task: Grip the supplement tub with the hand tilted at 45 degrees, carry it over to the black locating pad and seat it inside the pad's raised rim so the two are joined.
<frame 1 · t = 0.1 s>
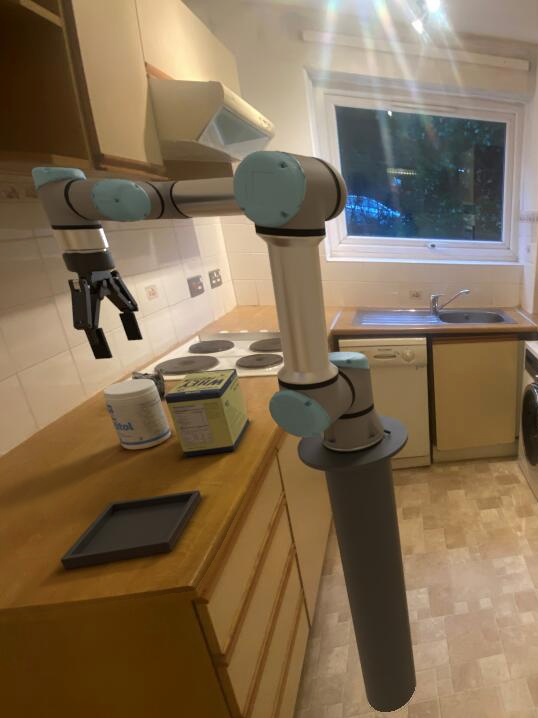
hand: (120, 348, 98), 23 cm above the countertop, tool pointing down, fingers open, 13 cm apart
supplement tub: (148, 441, 106), on the countertop
grey furry lump: (150, 394, 131), on the countertop
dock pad: (141, 530, 78), on the countertop
protein box: (219, 439, 107), on the countertop
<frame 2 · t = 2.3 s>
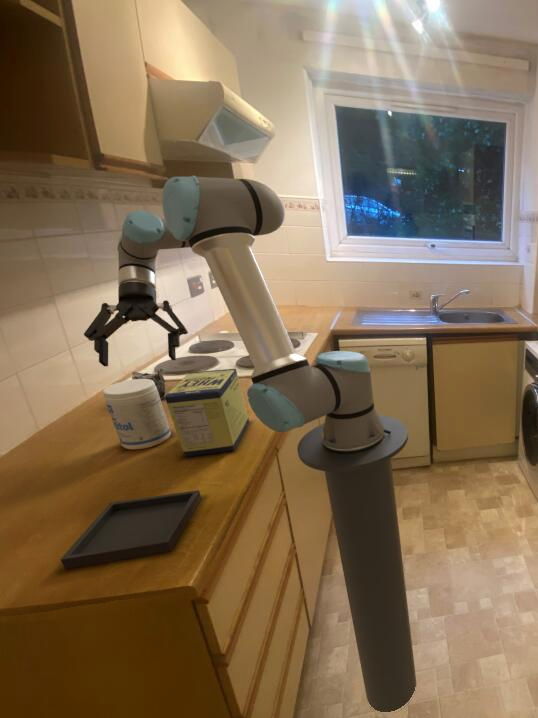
hand: (138, 361, 108), 17 cm above the countertop, tool tilted 45°, fingers open, 13 cm apart
nothing on the countertop moved.
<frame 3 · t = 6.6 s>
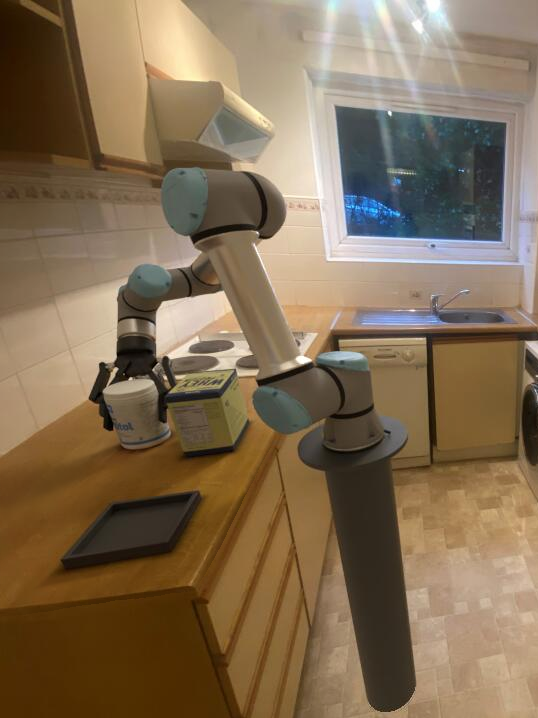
hand: (136, 425, 101), 6 cm above the countertop, tool tilted 45°, fingers closed on supplement tub, 10 cm apart
supplement tub: (148, 441, 106), on the countertop, touching gripper
everything else where it was.
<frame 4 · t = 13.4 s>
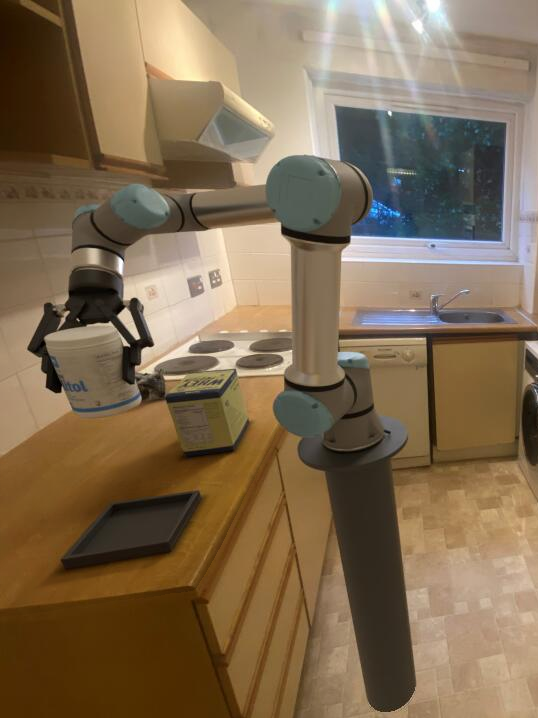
hand: (92, 385, 75), 25 cm above the countertop, tool tilted 45°, fingers closed on supplement tub, 10 cm apart
supplement tub: (111, 409, 80), point 19 cm above the countertop, touching gripper
everything else where it was.
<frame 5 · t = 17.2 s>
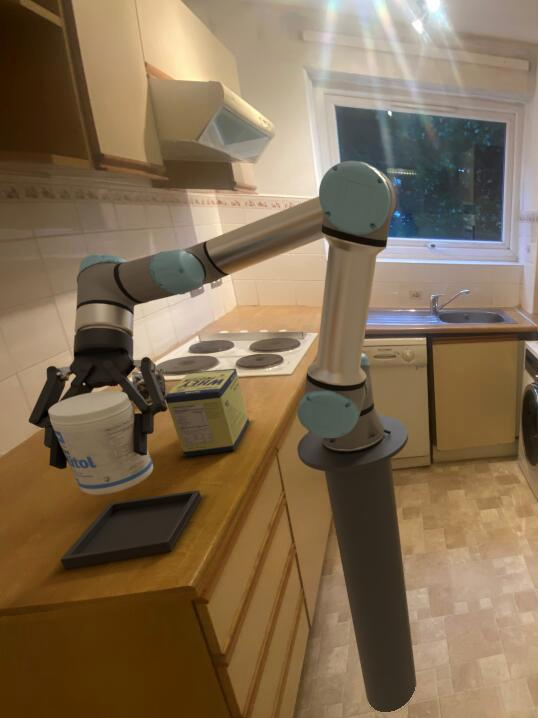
hand: (100, 459, 68), 17 cm above the countertop, tool tilted 45°, fingers closed on supplement tub, 10 cm apart
supplement tub: (120, 480, 73), point 11 cm above the countertop, touching gripper
everything else where it was.
when the fingers open (6 cm above the countertop, at t = 20.6 s): supplement tub stays where it is, resting on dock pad.
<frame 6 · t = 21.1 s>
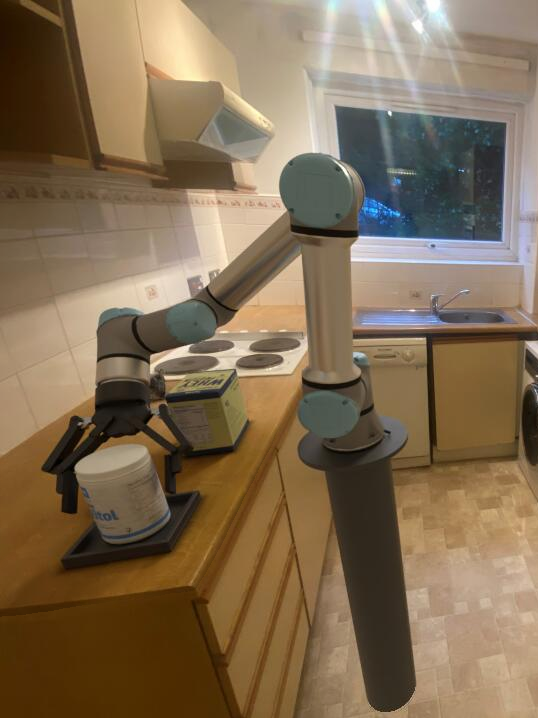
hand: (121, 502, 73), 8 cm above the countertop, tool tilted 45°, fingers open, 13 cm apart
supplement tub: (140, 528, 77), resting on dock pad
everything else where it was.
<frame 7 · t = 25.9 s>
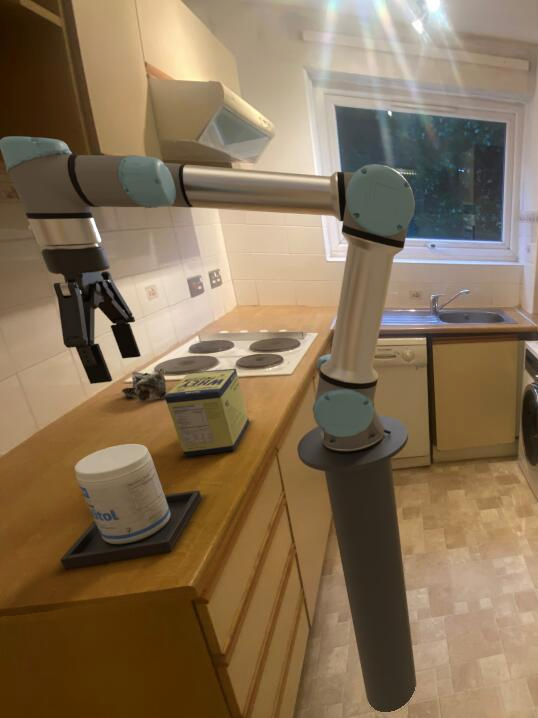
hand: (117, 368, 78), 26 cm above the countertop, tool pointing down, fingers open, 13 cm apart
nothing on the countertop moved.
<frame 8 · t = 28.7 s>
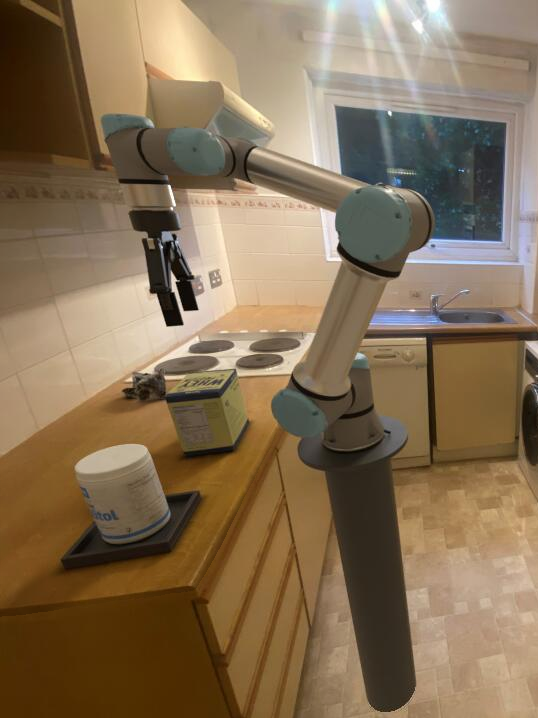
hand: (183, 317, 91), 32 cm above the countertop, tool pointing down, fingers open, 13 cm apart
nothing on the countertop moved.
at the end: supplement tub 0.1 cm off-centre in the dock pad, point 0.4 cm above the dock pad's base; supplement tub tilted 0°; the gripper is holding nothing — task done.
